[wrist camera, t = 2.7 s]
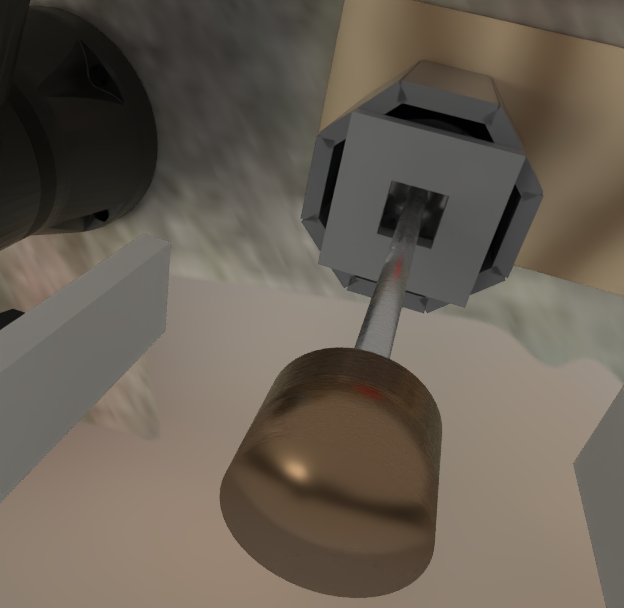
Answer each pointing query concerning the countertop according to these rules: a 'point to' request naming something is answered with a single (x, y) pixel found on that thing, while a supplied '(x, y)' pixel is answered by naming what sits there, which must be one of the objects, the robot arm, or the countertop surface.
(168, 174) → the countertop surface
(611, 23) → the countertop surface
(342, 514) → the plunger
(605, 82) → the board
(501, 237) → the gray octagonal holder
